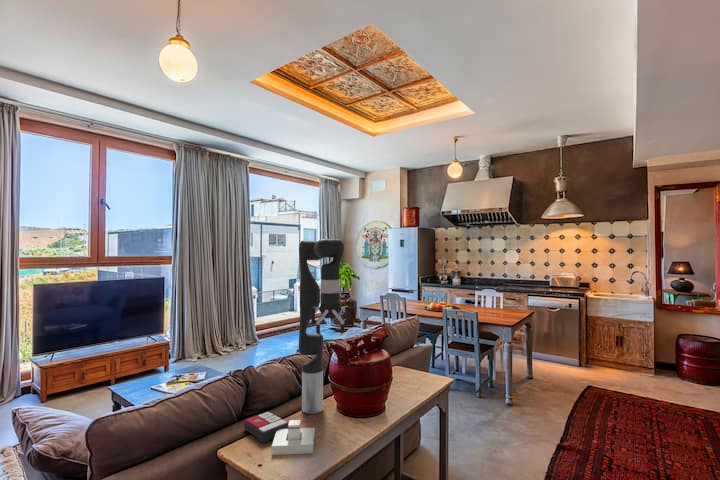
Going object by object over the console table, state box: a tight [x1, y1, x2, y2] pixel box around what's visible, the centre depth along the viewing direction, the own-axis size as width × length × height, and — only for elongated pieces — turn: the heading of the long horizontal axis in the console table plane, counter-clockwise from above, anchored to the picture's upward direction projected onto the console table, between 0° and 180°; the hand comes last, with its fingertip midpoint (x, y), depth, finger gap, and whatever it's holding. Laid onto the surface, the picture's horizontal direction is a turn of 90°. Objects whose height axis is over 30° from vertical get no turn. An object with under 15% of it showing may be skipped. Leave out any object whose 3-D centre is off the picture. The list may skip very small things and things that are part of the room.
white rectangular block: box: [288, 419, 302, 441], centre depth 130 cm, size 4×4×8 cm
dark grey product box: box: [243, 411, 289, 444], centre depth 140 cm, size 11×4×15 cm
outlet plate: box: [271, 427, 316, 456], centre depth 130 cm, size 12×14×3 cm
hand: (330, 334), depth 138 cm, fingers open, 8 cm apart
